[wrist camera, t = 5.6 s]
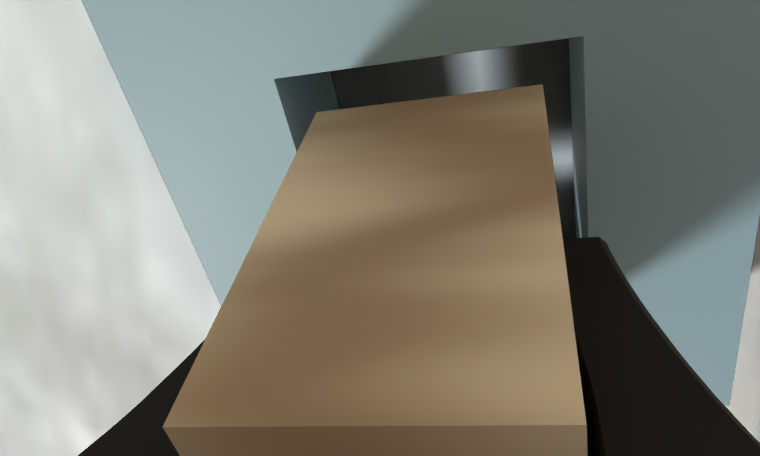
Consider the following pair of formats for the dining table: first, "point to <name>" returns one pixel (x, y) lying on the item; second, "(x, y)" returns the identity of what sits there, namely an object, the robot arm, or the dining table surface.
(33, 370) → the dining table surface
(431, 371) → the key block
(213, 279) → the socket plate
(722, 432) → the robot arm
